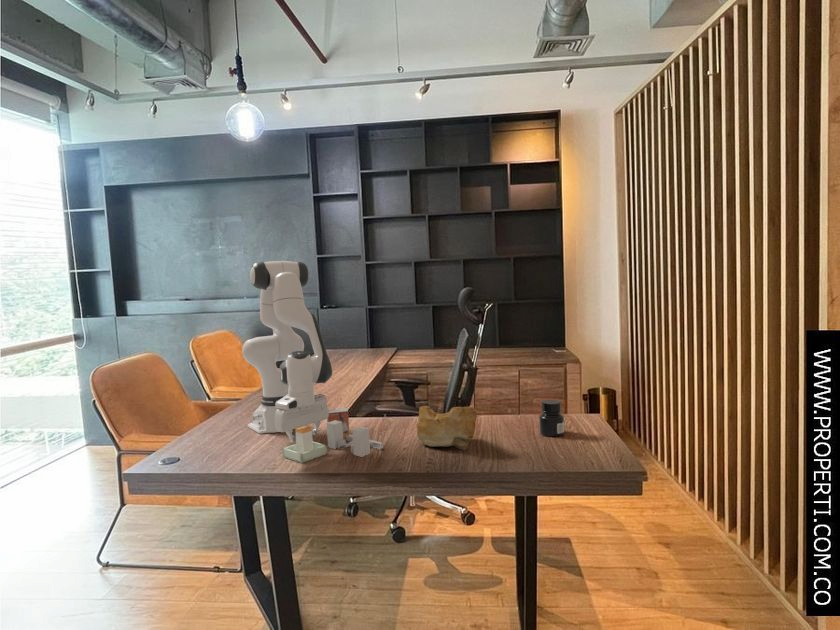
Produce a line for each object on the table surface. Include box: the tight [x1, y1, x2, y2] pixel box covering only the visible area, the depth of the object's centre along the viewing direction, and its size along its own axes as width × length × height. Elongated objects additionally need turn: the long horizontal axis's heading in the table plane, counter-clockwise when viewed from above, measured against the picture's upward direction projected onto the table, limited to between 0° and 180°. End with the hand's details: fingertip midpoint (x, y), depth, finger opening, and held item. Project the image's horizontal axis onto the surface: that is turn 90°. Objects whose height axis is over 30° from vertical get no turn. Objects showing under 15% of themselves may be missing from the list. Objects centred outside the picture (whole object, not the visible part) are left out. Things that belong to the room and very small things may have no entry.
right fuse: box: [351, 425, 371, 458], centre depth 169 cm, size 4×4×9 cm
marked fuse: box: [294, 425, 314, 453], centre depth 170 cm, size 4×4×9 cm
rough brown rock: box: [416, 405, 478, 451], centre depth 176 cm, size 23×17×15 cm
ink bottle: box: [538, 399, 565, 438], centre depth 182 cm, size 10×9×12 cm
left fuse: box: [326, 420, 344, 450], centre depth 178 cm, size 4×4×9 cm
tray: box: [282, 440, 328, 464], centre depth 171 cm, size 11×11×3 cm
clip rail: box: [337, 433, 384, 455], centre depth 177 cm, size 18×10×3 cm, turn 49°
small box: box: [326, 407, 350, 439], centre depth 189 cm, size 8×6×10 cm
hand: (304, 437), depth 170 cm, fingers open, 8 cm apart
